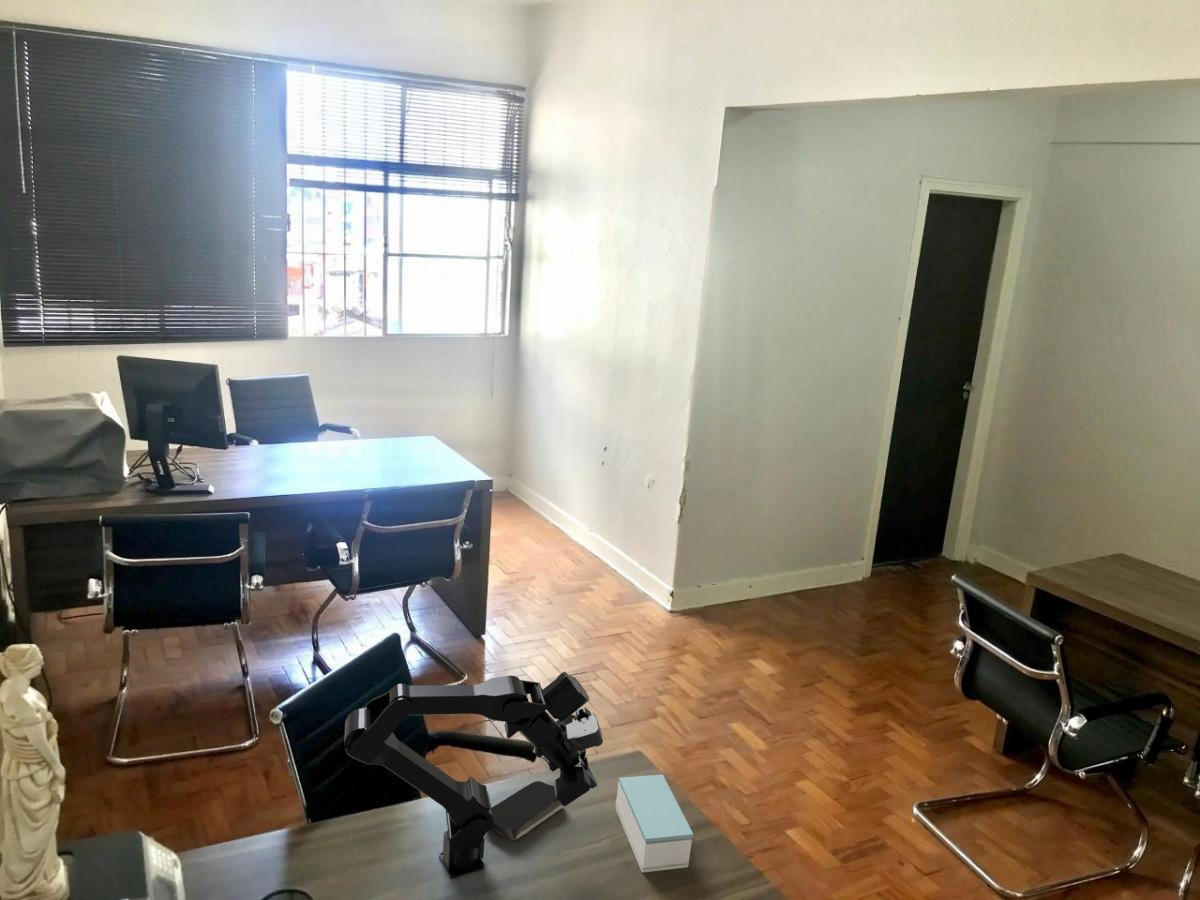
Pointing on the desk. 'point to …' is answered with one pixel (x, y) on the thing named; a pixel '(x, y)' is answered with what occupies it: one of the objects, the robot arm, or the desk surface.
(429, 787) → the robot arm
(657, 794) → the cover
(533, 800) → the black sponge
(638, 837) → the white lidded box
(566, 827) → the desk surface
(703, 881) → the desk surface
